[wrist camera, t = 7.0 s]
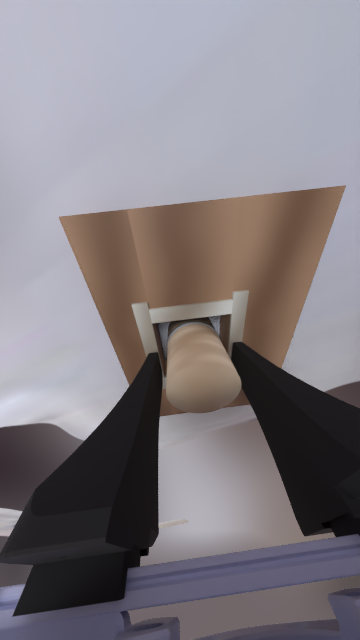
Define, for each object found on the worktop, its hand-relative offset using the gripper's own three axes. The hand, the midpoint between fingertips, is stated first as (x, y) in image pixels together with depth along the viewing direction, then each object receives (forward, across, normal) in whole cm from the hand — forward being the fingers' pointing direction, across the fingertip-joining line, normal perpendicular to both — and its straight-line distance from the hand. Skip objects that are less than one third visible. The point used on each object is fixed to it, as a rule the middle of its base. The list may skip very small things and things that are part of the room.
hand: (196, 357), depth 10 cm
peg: (+3, 0, 0) cm, 3 cm away
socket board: (+3, -1, 0) cm, 3 cm away
